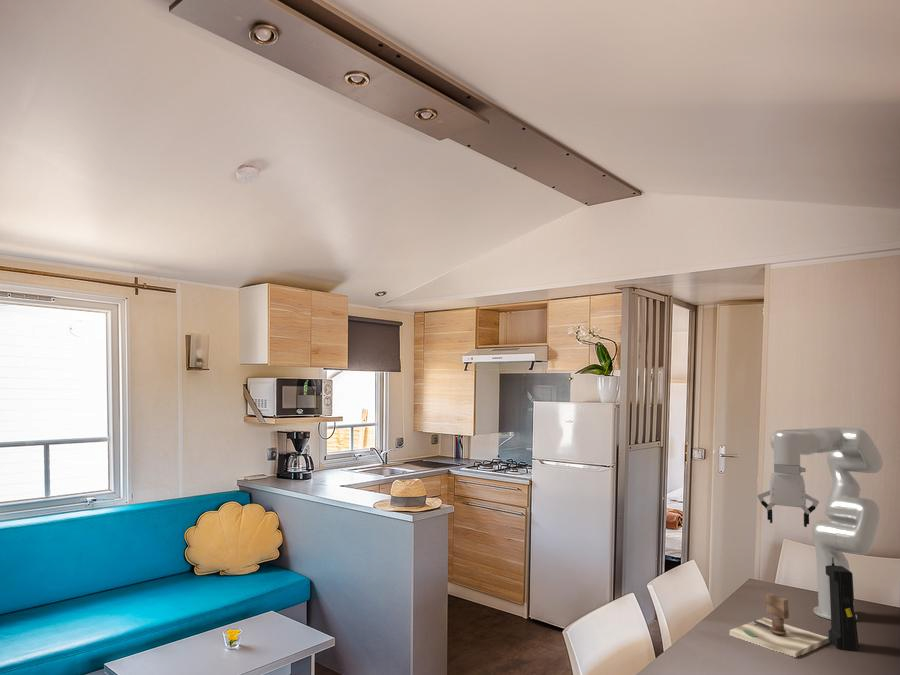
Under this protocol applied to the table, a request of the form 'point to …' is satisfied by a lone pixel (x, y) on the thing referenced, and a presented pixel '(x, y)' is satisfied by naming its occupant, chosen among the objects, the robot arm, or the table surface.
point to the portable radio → (842, 608)
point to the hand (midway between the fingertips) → (788, 524)
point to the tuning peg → (776, 613)
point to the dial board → (780, 638)
